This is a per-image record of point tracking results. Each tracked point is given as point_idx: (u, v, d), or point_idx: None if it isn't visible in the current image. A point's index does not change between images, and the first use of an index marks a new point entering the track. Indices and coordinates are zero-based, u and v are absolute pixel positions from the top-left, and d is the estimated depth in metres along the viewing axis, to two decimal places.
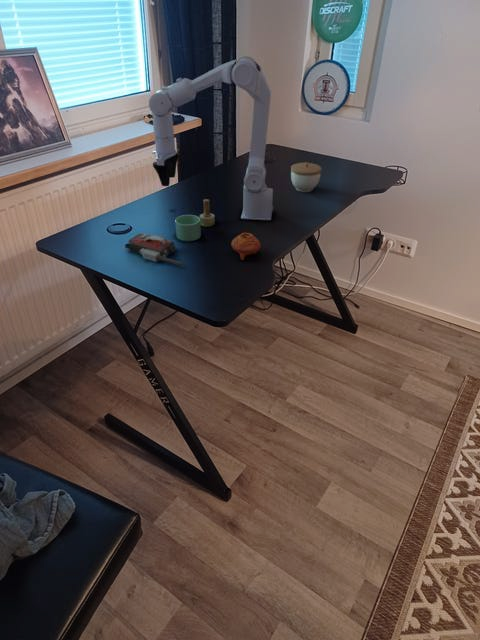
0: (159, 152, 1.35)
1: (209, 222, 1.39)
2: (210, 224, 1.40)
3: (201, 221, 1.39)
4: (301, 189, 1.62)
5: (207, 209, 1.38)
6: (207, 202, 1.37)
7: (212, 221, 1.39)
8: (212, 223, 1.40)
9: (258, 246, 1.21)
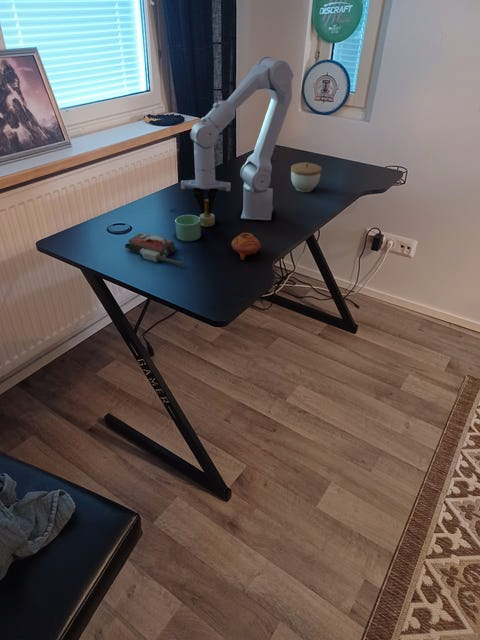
0: None
1: (209, 222, 1.39)
2: (210, 224, 1.40)
3: (201, 221, 1.39)
4: (301, 189, 1.62)
5: (207, 209, 1.38)
6: (207, 202, 1.37)
7: (212, 221, 1.39)
8: (212, 223, 1.40)
9: (258, 246, 1.21)
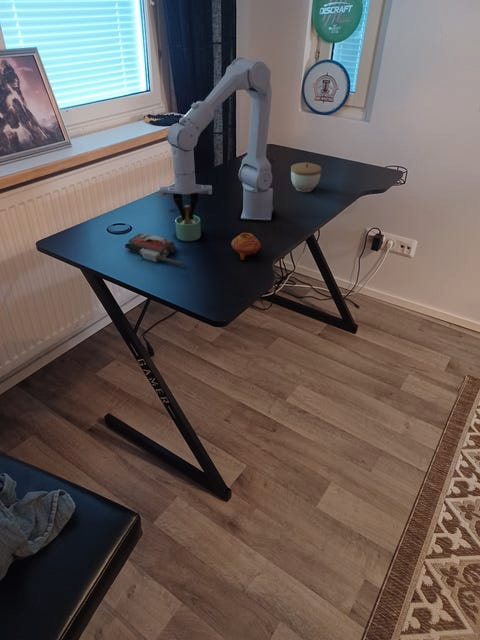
0: None
1: None
2: None
3: None
4: (301, 189, 1.62)
5: (188, 215, 1.30)
6: (188, 208, 1.29)
7: None
8: None
9: (258, 246, 1.21)
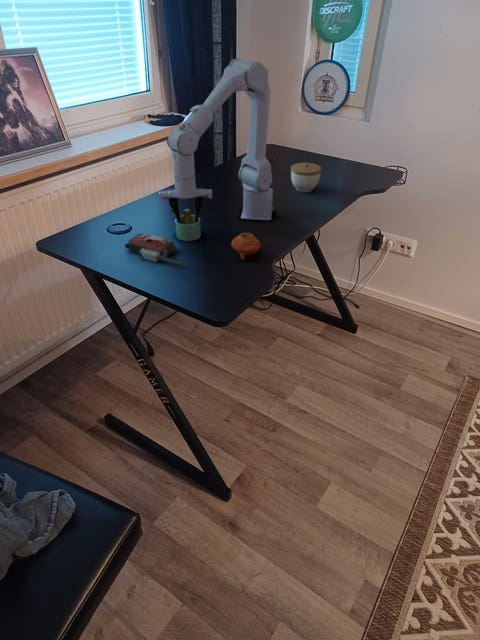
0: None
1: None
2: None
3: None
4: (301, 189, 1.62)
5: (188, 219, 1.31)
6: (188, 212, 1.30)
7: None
8: None
9: (258, 246, 1.21)
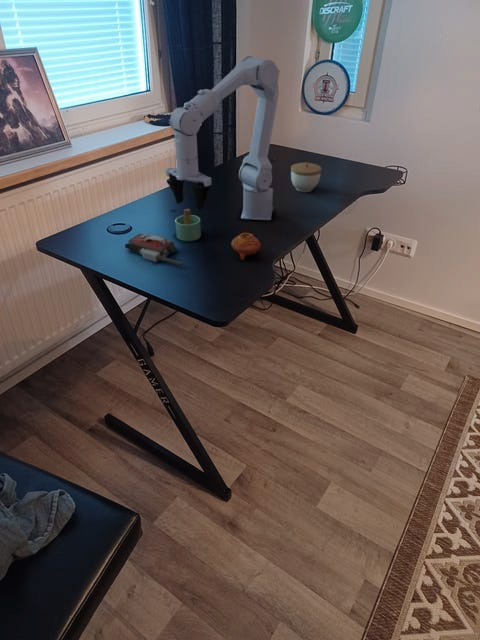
0: (192, 175, 1.23)
1: None
2: None
3: None
4: (301, 189, 1.62)
5: (188, 219, 1.31)
6: (188, 212, 1.30)
7: None
8: None
9: (258, 246, 1.21)
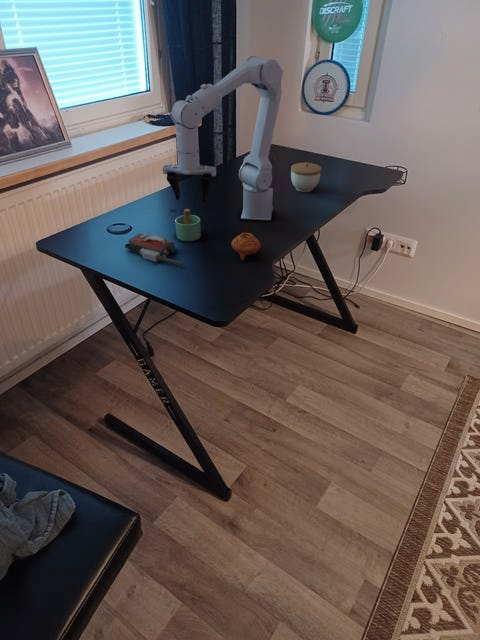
0: (197, 167, 1.23)
1: None
2: None
3: None
4: (301, 189, 1.62)
5: (188, 219, 1.31)
6: (188, 212, 1.30)
7: None
8: None
9: (258, 246, 1.21)
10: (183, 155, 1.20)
